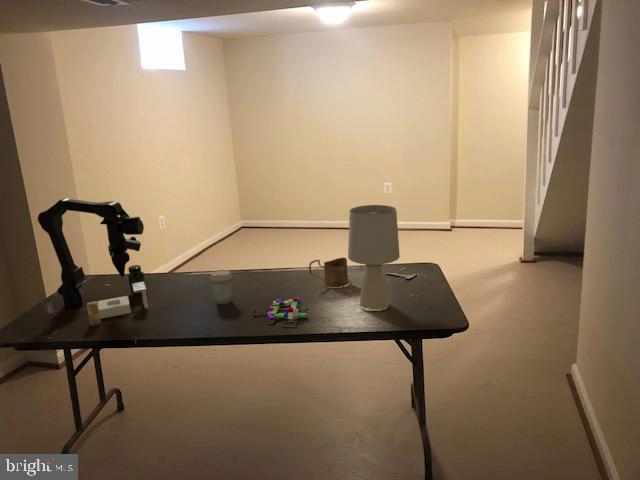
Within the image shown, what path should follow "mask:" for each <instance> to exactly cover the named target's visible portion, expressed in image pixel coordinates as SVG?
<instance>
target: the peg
mask: <svg viewBox="0 0 640 480" xmlns="http://www.w3.org/2000/svg"><path fill="white" fill-rule="evenodd" d="M86 308H87V312H88V314H87V315H88V319H89V324H90V326H92V327H94V326H95V327H96V326H98V325H101V324H102V320H101V319H100V314H99V308H98V301H95V300H94V301H90V302H88V303H86Z"/></svg>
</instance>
